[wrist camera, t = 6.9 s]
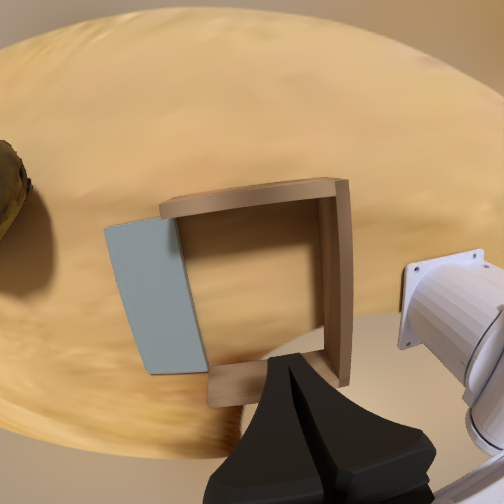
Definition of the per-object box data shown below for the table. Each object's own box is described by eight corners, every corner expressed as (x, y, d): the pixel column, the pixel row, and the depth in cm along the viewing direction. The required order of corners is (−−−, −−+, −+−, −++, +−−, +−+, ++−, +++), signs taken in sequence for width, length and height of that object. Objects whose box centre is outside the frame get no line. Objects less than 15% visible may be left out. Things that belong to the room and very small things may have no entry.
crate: (325, 177, 19) (348, 179, 15) (333, 354, 23) (349, 385, 19) (173, 197, 18) (158, 204, 15) (211, 373, 22) (209, 408, 18)
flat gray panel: (172, 216, 18) (103, 229, 18) (207, 371, 21) (147, 374, 21) (175, 214, 18) (108, 226, 19) (208, 365, 22) (150, 368, 22)
